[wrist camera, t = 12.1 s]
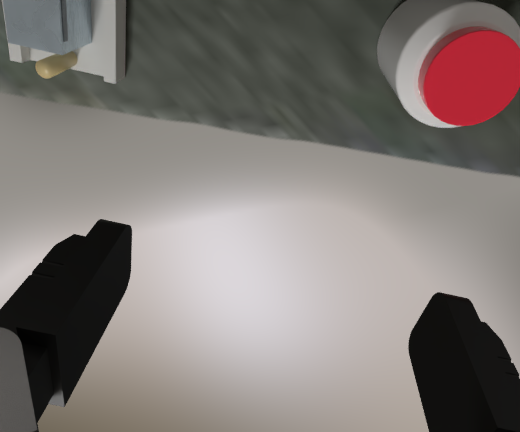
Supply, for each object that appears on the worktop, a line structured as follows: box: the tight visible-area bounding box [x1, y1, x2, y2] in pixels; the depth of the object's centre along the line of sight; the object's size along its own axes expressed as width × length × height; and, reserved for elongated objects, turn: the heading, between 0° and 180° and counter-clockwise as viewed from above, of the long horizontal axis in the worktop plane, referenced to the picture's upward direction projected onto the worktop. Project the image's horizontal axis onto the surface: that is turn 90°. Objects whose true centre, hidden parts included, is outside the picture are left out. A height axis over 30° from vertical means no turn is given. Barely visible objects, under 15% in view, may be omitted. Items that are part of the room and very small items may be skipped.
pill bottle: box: [377, 0, 520, 128], centre depth 28 cm, size 8×8×11 cm
